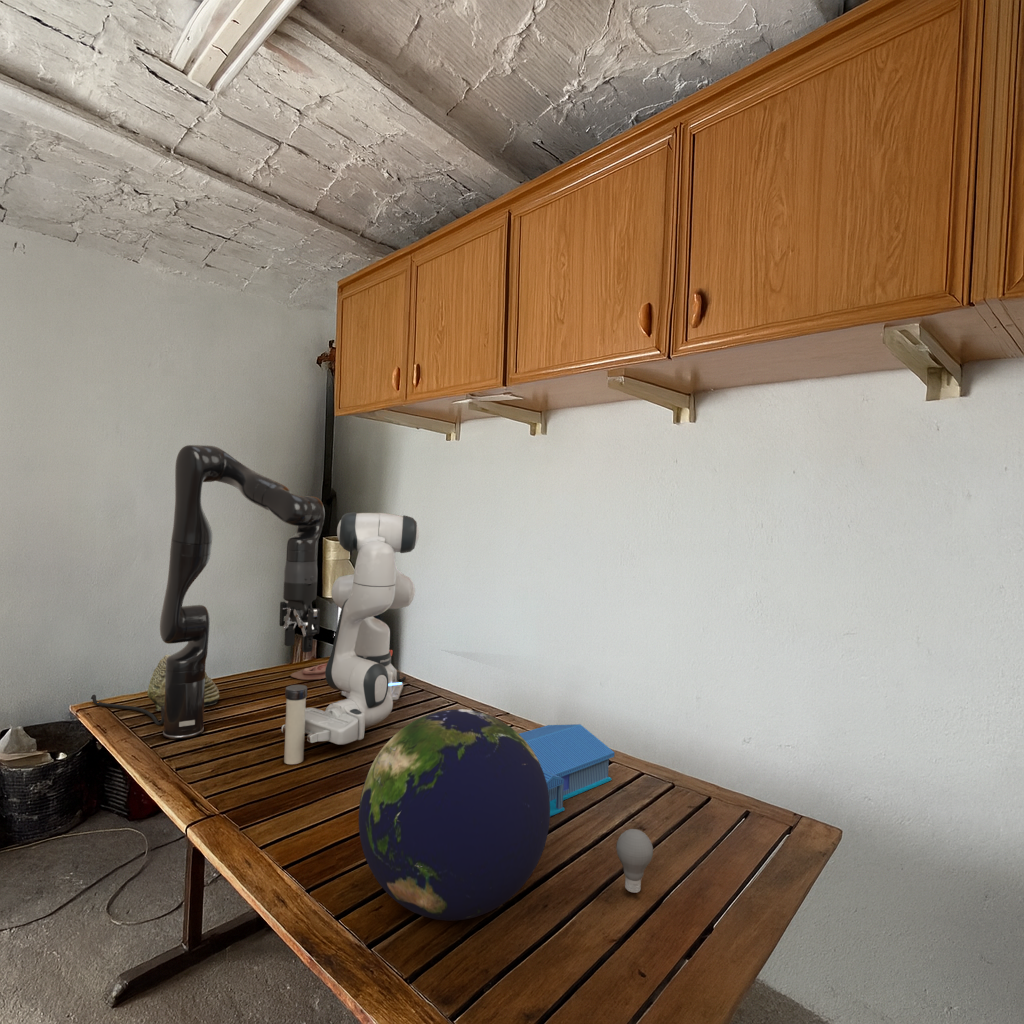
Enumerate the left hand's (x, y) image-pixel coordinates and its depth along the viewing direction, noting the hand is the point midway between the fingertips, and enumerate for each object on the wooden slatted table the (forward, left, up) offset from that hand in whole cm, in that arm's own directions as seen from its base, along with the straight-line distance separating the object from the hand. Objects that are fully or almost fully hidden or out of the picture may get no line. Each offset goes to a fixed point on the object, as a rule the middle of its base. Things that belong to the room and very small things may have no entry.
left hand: (298, 648), depth 151 cm
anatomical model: (-63, +35, -27) cm, 77 cm away
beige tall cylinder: (0, 0, -27) cm, 27 cm away
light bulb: (+83, +21, -27) cm, 90 cm away
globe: (+66, -4, -27) cm, 71 cm away
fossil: (-55, -9, -27) cm, 62 cm away
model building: (+45, +33, -27) cm, 62 cm away
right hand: (0, 0, -21) cm, 21 cm away
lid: (0, 0, -10) cm, 10 cm away
